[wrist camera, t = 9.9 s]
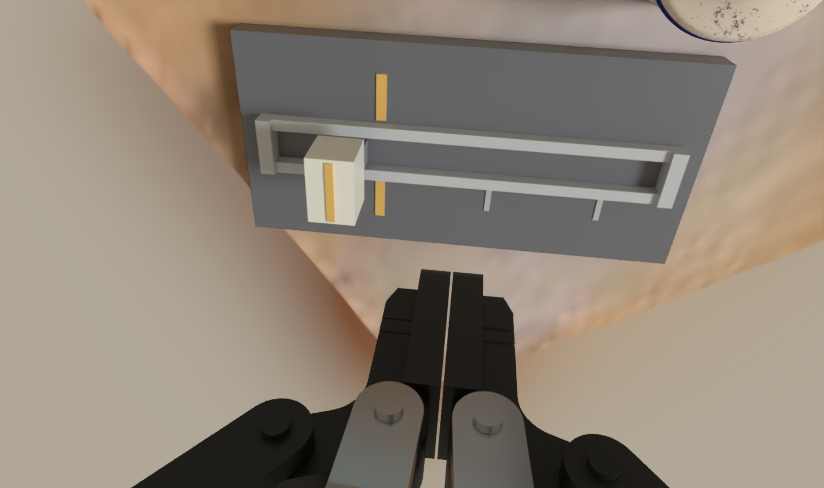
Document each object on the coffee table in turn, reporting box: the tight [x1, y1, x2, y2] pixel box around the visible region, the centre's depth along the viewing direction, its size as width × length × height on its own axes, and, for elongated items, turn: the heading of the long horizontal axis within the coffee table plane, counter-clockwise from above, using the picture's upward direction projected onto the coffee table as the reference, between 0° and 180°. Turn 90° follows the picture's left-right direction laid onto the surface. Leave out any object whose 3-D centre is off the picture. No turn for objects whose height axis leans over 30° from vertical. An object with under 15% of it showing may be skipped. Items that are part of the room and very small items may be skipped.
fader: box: [304, 135, 368, 226], centre depth 37 cm, size 4×3×7 cm
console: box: [230, 23, 736, 264], centre depth 40 cm, size 15×32×3 cm, turn 88°
